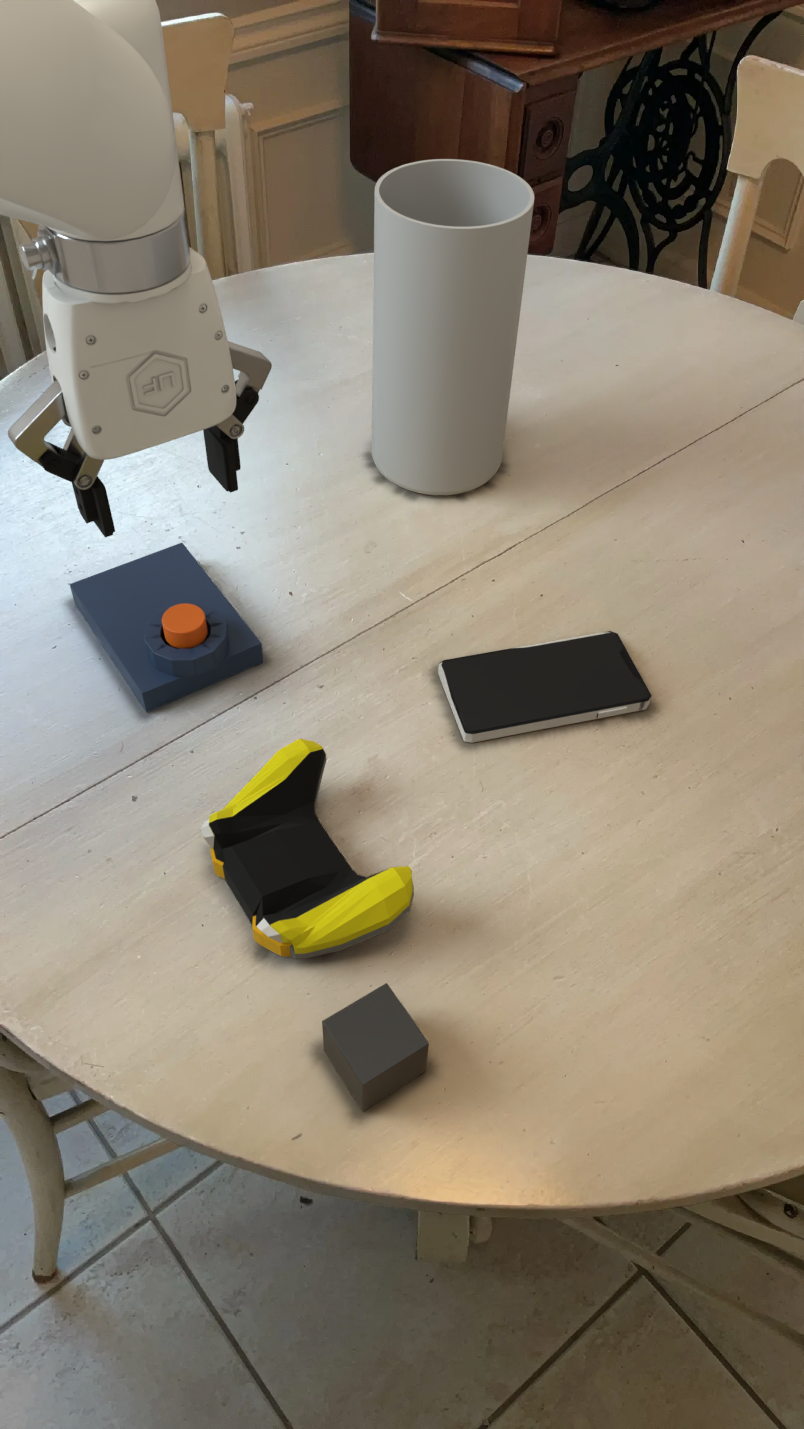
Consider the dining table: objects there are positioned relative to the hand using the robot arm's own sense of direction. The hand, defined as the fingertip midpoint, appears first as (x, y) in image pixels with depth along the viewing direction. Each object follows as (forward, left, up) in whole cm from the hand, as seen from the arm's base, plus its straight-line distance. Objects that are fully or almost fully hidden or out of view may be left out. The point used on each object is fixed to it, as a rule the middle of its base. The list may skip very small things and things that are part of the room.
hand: (163, 501), depth 70 cm
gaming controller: (-2, -21, -16) cm, 27 cm away
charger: (-5, -34, -16) cm, 38 cm away
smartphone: (+22, -16, -16) cm, 32 cm away
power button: (0, 0, -13) cm, 13 cm away
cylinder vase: (+32, +13, -16) cm, 38 cm away
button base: (0, +5, -16) cm, 17 cm away
